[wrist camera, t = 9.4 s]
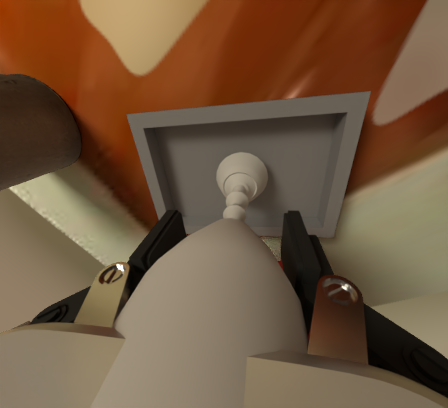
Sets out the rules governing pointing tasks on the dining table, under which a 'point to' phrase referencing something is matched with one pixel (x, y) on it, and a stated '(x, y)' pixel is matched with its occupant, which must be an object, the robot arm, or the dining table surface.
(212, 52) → the dining table surface
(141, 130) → the tray
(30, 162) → the pillar candle
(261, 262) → the chalice
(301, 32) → the dining table surface
